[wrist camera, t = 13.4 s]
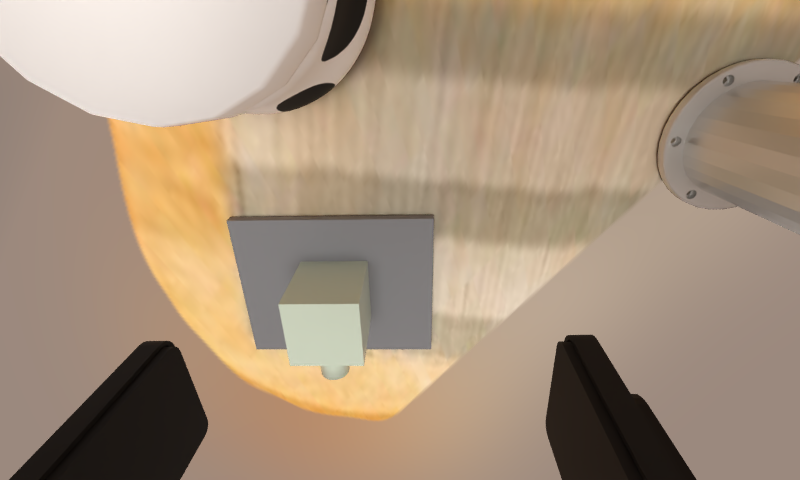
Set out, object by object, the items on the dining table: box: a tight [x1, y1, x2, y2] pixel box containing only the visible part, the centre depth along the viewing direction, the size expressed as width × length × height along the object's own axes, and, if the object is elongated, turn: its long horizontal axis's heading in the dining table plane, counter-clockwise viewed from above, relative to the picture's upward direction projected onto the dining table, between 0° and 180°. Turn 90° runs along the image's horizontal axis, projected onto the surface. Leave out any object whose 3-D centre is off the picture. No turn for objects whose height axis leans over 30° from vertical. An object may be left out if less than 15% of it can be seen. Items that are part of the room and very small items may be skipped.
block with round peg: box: [278, 261, 371, 380], centre depth 38 cm, size 10×7×7 cm
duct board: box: [227, 215, 434, 349], centre depth 38 cm, size 20×16×6 cm
